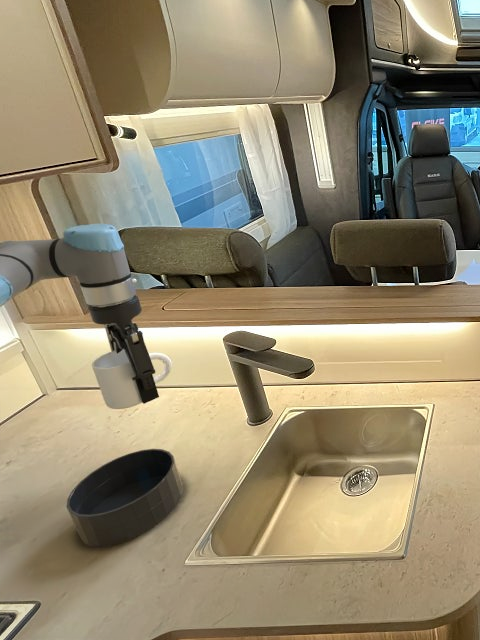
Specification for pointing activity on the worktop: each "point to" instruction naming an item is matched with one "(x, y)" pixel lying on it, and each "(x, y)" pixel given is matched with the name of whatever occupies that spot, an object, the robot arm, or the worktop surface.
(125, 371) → the mug
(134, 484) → the pot
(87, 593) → the worktop surface
